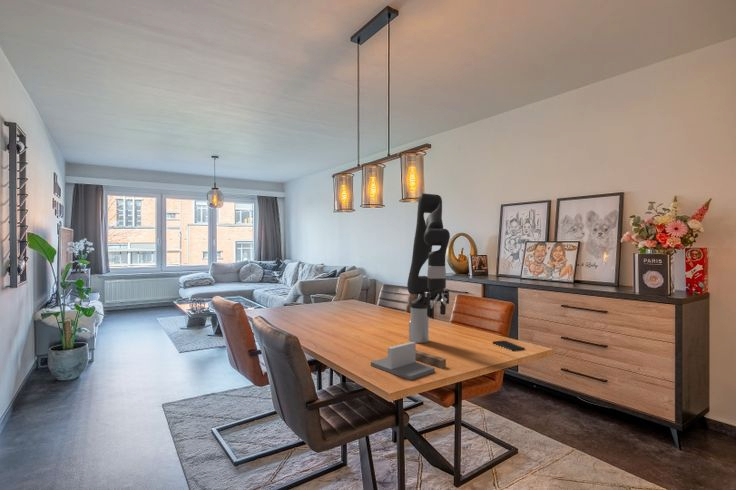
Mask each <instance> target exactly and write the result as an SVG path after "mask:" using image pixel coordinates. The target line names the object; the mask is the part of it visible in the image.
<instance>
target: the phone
mask: <svg viewBox="0 0 736 490" xmlns="http://www.w3.org/2000/svg"><path fill="white" fill-rule="evenodd" d="M492 344H493V345H495V344H496V345H495V346H497V345H498V346H497V347H500V346H501V348H502V347H504V348H503V349H505V348H506V350H508V349H509V350H508V351H510V350H512V351H511V352H517V351H516V350H520V351H525V350H524V349H526V348H525V346H524V347H523V346H521V345H518V344H515V343H512V342H510V341H506V340H497V341H492Z"/></svg>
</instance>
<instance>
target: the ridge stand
mask: <svg viewBox="0 0 736 490" xmlns="http://www.w3.org/2000/svg"><path fill="white" fill-rule="evenodd" d="M416 345H417V344H416V343H415V342H412V341H408V342H405V343H401V344H397V345H394V346H390V347H389V346H388V347H387V357H384V358H379V359H378V360H373V361H371V362H370V366H371V367H374V368H377V369H379V370H381V371H385V372H387V373H390V374H393V375H396V376H398V377H401V378H404V379H406V380H409V381H414V380H415V379H418V378H420V377H423V376H427V375H429V374H433V373H435V370H436V369H435V368H436V367H434V366H431V365H428V364H425V363H420V362H418V361H416V347H417V346H416Z"/></svg>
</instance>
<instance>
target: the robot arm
mask: <svg viewBox="0 0 736 490" xmlns="http://www.w3.org/2000/svg"><path fill="white" fill-rule="evenodd" d="M425 214H428V215H427V217H426V219H425ZM442 216H443V198H442V196H441V195H439V194H435V193H434V194H433V193H420V195H419V197H418V203H417V213H416V227H415V233H414V239H413V248H412V255H411V265H410V268H409V273H408V278H407V284H406V286H407V287H406V289H407V292H408V294H410V295H418V296H417V298H415V299H413V300H411V301H410V321H409V322H408V340H409V341H410V342H415V343H417V344H425V343H429V338H430V337H429V336H430V335H429V333H430V332H429V328H430V325H429V324H430V322H429V321H430V318H431V319H432V318H433V316H434V313H433V312H434V309H433V307H434V305H435V304H436V303H438V302H439V304H440V306H439V307H440V309H439V314H440V315H442V316H445V315H446V312H447V310H446V309H447V307H446V306H447V305H448V304H450V290H449V289H446V288H447V283H446V282H447V271H446V254H447V249H448V246H449V243H450V238H451V234H450V232H449V230H448V229H447V228H444V223H443V220H442V219H443V218H442ZM433 246H434V247H436V246H437V247H439V246H440V248H439V249H438V250H434V251H433ZM426 262H427V275H420V271H421V269H422V267H423V265H424V264H425V263H426Z"/></svg>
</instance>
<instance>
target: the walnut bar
mask: <svg viewBox="0 0 736 490" xmlns="http://www.w3.org/2000/svg"><path fill="white" fill-rule="evenodd" d="M416 362H419V363H420V362H421V363H422V364H425V365H428V366H431V367H434V368H439V369H444V368H446V366H447V359H446V358H443V357H440V356H437V355H434V354H430V353H426V352H423V351H421V350H416Z"/></svg>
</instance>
